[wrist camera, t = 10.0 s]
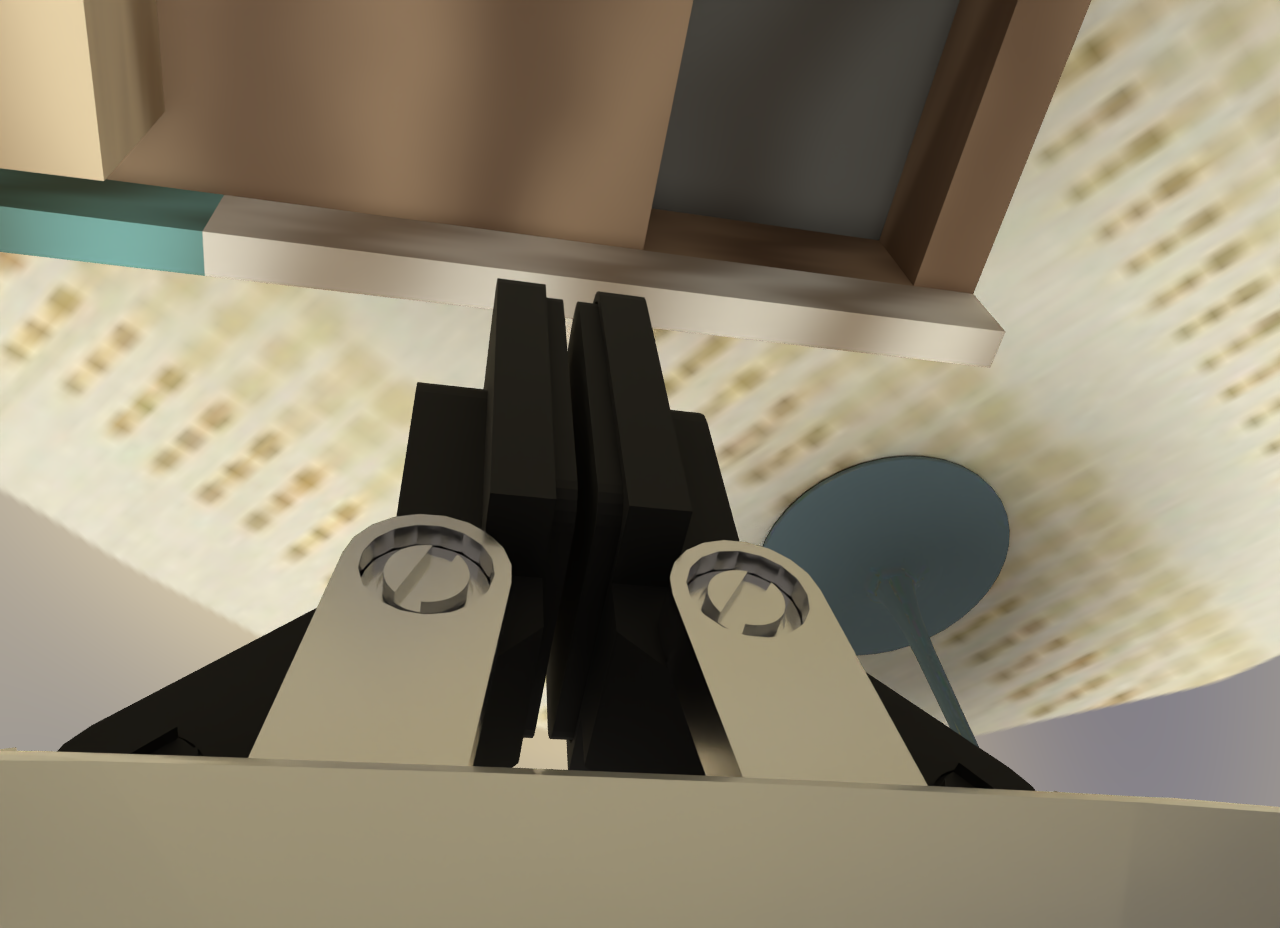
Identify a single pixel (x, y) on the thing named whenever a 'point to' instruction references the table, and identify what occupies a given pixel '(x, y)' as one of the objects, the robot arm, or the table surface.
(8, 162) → the maple block
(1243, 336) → the table surface
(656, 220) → the trap deck
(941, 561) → the cocktail glass
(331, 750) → the robot arm
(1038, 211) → the table surface
